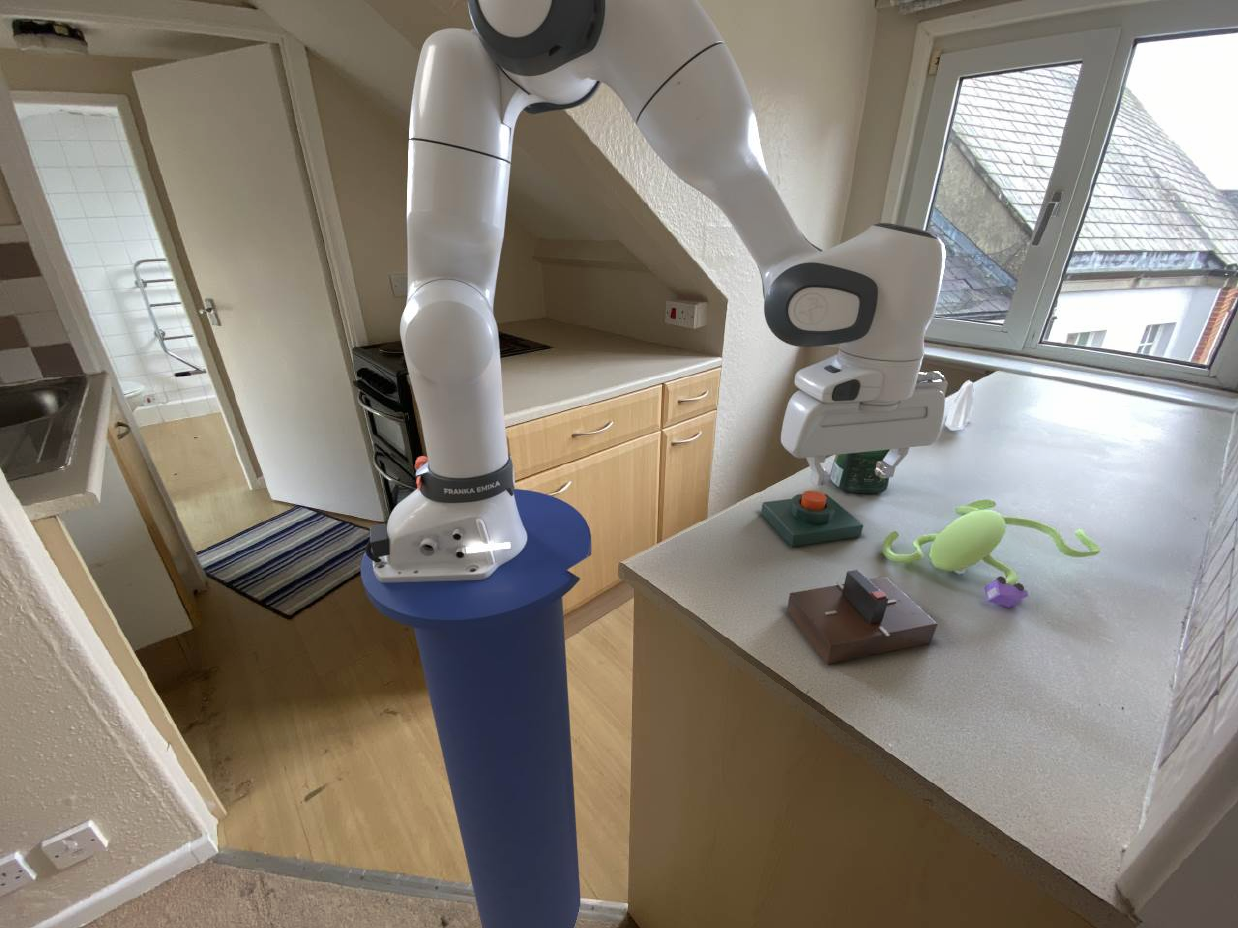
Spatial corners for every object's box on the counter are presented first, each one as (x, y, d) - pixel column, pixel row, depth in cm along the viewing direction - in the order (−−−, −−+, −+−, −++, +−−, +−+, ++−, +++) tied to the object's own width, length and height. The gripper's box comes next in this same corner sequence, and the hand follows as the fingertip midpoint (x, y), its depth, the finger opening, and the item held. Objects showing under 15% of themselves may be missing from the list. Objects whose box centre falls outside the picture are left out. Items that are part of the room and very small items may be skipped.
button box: (791, 547, 80) (795, 524, 78) (760, 513, 89) (763, 492, 87) (860, 536, 83) (866, 514, 81) (824, 504, 92) (828, 484, 90)
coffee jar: (876, 476, 101) (899, 382, 93) (891, 496, 94) (917, 397, 86) (824, 473, 102) (842, 381, 94) (835, 494, 95) (855, 395, 87)
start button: (808, 512, 82) (810, 503, 82) (796, 501, 85) (798, 491, 85) (829, 509, 83) (831, 500, 82) (816, 498, 86) (818, 489, 85)
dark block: (841, 593, 66) (847, 569, 64) (852, 591, 66) (858, 567, 65) (870, 624, 61) (877, 599, 60) (882, 621, 62) (889, 596, 60)
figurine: (1104, 569, 75) (1120, 536, 73) (991, 630, 65) (1006, 594, 62) (975, 509, 90) (986, 480, 88) (866, 550, 79) (874, 519, 77)
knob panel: (828, 667, 60) (833, 646, 58) (784, 609, 68) (788, 590, 67) (933, 645, 63) (940, 624, 61) (879, 592, 71) (884, 573, 70)
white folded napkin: (962, 436, 118) (977, 389, 113) (941, 432, 120) (955, 385, 116) (969, 420, 127) (983, 375, 122) (949, 416, 129) (962, 372, 124)
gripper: (931, 363, 67) (904, 461, 73) (783, 373, 63) (768, 476, 69) (971, 378, 61) (938, 482, 67) (811, 389, 57) (792, 500, 63)
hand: (851, 479), depth 68 cm, fingers open, 8 cm apart
